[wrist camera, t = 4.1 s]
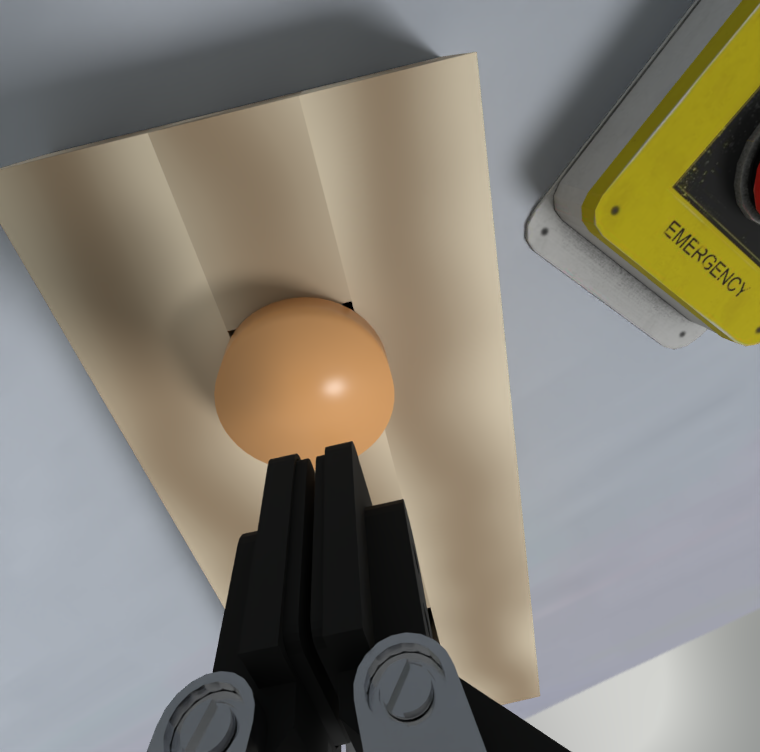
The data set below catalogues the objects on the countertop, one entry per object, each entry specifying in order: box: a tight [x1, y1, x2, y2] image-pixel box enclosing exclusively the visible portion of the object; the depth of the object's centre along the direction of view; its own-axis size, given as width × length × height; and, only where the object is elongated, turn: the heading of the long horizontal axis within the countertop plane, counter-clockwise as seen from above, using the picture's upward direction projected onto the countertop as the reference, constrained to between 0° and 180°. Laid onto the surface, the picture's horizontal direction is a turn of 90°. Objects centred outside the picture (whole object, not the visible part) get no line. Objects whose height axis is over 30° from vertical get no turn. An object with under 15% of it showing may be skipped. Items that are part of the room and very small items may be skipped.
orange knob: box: [214, 297, 394, 470], centre depth 17 cm, size 5×5×6 cm
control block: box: [0, 52, 540, 705], centre depth 21 cm, size 12×28×4 cm, turn 12°
